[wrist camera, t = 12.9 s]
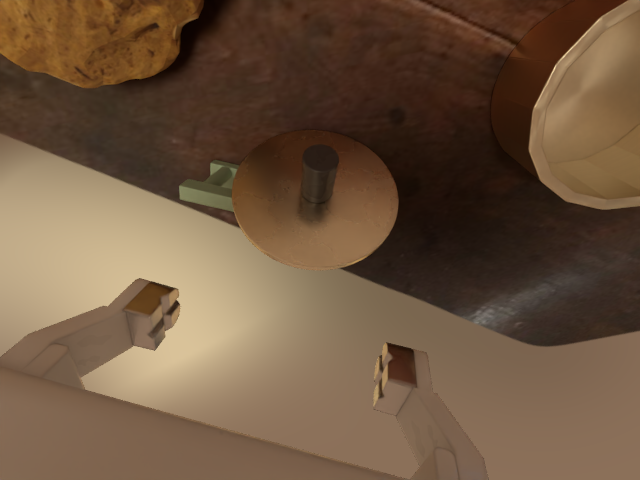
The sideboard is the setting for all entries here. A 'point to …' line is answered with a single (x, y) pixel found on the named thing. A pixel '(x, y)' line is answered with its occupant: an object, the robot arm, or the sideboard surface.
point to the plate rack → (212, 187)
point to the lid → (314, 199)
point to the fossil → (94, 37)
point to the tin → (576, 103)
